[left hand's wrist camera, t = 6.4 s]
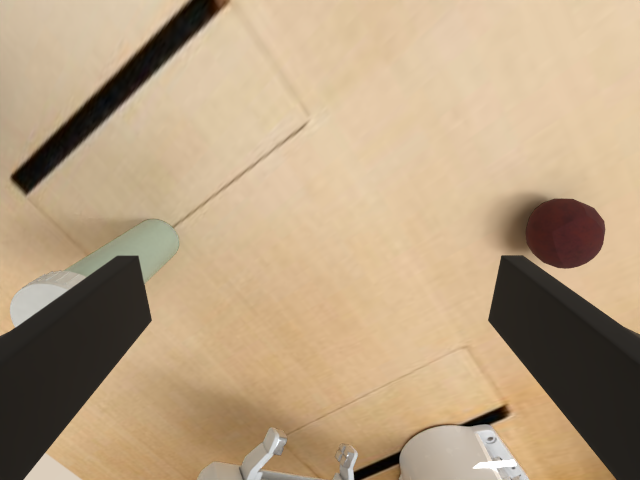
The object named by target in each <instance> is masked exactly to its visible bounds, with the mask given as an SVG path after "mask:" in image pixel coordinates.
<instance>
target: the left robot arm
mask: <svg viewBox="0 0 640 480" xmlns="http://www.w3.org/2000/svg"><path fill="white" fill-rule="evenodd" d="M151 321H152V319H151V314H150V309H149V304H148V300H147V295H146V290H145V285H144V280H143V275H142V270H141V265H140V260H139V256H116V257H114V258H113V259H112V260H110V261H109V262H107V263H106V264H105V265H103V266H102V267H100V268H99V269H98V270H96V271H95V272H93V273H92V274H90V275H89V276H88V277H86V278H85V279H83V280H82V281H81V282H79V283H78V284H76V285H75V286H73V287H72V288H71V289H69V290H68V291H66V292H65V293H64V294H62V295H61V296H59V297H58V298H57V299H55V300H54V301H52V302H51V303H49V304H48V305H47V306H45V307H44V308H42V309H41V310H40V311H38V312H37V313H35V314H34V315H32V316H31V317H30V318H28V319H27V320H25V321H24V322H23V323H21V324H20V325H18V326H17V327H16V328H14V329H13V330H11V331H10V332H8V333H6V334H4V335H1V336H0V480H23V479H24V478H25V477H26V476H27V474H28V473H29V472H30V471H31V470H32V468H33V467H34V466H35V465H36V463H37V462H38V461H39V460H40V458H41V457H42V456H43V455H44V453H45V452H46V451H47V450H48V448H49V447H50V446H51V445H52V444H53V442H54V441H55V440H56V439H57V437H58V436H59V435H60V434H61V432H62V431H63V430H64V429H65V427H66V426H67V425H68V424H69V422H70V421H71V420H72V419H73V417H74V416H75V415H76V414H77V413H78V411H79V410H80V409H81V408H82V406H83V405H84V404H85V403H86V401H87V400H88V399H89V398H90V396H91V395H92V394H93V393H94V391H95V390H96V389H97V388H98V387H99V385H100V384H101V383H102V382H103V380H104V379H105V378H106V377H107V375H108V374H109V373H110V372H111V370H112V369H113V368H114V367H115V365H116V364H117V363H118V362H119V361H120V359H121V358H122V357H123V356H124V354H125V353H126V352H127V351H128V349H129V348H130V347H131V346H132V344H133V343H134V342H135V341H136V339H137V338H138V337H139V336H140V334H141V333H142V332H143V331H144V330H145V328H146V327H147V326H148V325H149V323H150V322H151ZM488 321H489V322H490V323H491V325H492V326H493V327H494V328H495V330H496V331H497V332H498V333H499V335H500V336H501V337H502V338H503V339H504V341H505V342H506V343H507V344H508V346H509V347H510V348H511V349H512V351H513V352H514V353H515V354H516V356H517V357H518V358H519V359H520V361H521V362H522V363H523V364H524V365H525V367H526V368H527V369H528V370H529V372H530V373H531V374H532V375H533V377H534V378H535V379H536V380H537V382H538V383H539V384H540V385H541V387H542V388H543V389H544V390H545V391H546V393H547V394H548V395H549V396H550V398H551V399H552V400H553V401H554V403H555V404H556V405H557V406H558V408H559V409H560V410H561V411H562V413H563V414H564V415H565V416H566V417H567V419H568V420H569V421H570V422H571V424H572V425H573V426H574V427H575V429H576V430H577V431H578V432H579V434H580V435H581V436H582V437H583V439H584V440H585V441H586V442H587V444H588V445H589V446H590V447H591V448H592V450H593V451H594V452H595V453H596V455H597V456H598V457H599V458H600V460H601V461H602V462H603V463H604V465H605V466H606V467H607V468H608V470H609V471H610V472H611V473H612V474H613V476H614V477H615V478H616V479H617V480H640V334H638V333H635V332H633V331H631V330H629V329H627V328H625V327H623V326H622V325H620V324H619V323H617V322H616V321H615V320H613V319H612V318H610V317H609V316H608V315H606V314H605V313H603V312H602V311H600V310H599V309H598V308H596V307H595V306H593V305H592V304H591V303H589V302H588V301H586V300H585V299H583V298H582V297H581V296H579V295H578V294H576V293H575V292H574V291H572V290H571V289H569V288H568V287H567V286H565V285H564V284H562V283H561V282H559V281H558V280H557V279H555V278H554V277H552V276H551V275H550V274H548V273H547V272H545V271H544V270H542V269H541V268H540V267H538V266H537V265H535V264H534V263H533V262H531V261H530V260H528V259H527V258H526V257H524V256H501V260H500V265H499V270H498V275H497V280H496V285H495V290H494V295H493V300H492V304H491V309H490V314H489V319H488Z"/></svg>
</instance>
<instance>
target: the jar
mask: <svg viewBox="0 0 640 480" xmlns="http://www.w3.org/2000/svg"><path fill="white" fill-rule="evenodd" d="M178 248H179V238H178V235H177V233H176V231H175V230H174V229H173V228H172V227H171V226H170V225H169V224H168V223H166V222H164V221H161V220H157V219H149V220H146V221H143V222H142V223H140V224H138V225H137V226H135V227H133V228H132V229H130V230H129V231H127V232H125V233H124V234H122V235H121V236H119V237H117V238H116V239H114V240H112V241H111V242H109V243H108V244H106V245H104V246H103V247H101V248H100V249H98V250H96V251H95V252H93V253H91V254H90V255H88V256H87V257H85V258H83V259H82V260H80V261H78V262H77V263H75V264H74V265H72V266H70V267H69V268H67V269H66V270H64V271H71V272H74V273H78V274H81V275H83V276H85V277H88V276H89V275H90V274H92V273H93V272H95V271H96V270H98V269H99V268H100V267H102V266H103V265H105V264H106V263H107V262H109V261H110V260H112V259H113V258H114V257H116V256H139V260H140V265H141V270H142V275H143V280H144V284H145V283H146V282H147V281H148V280H149V279H150V278H151V277H152V276H153V275H154V274H155V273H156V272H157V271H158V270H159V269H160V268H161V267H162V266H163V265H165V264H166V263H167V262H168V261H169V260H170V259H171V258H172V257H173V256H174V255H175V254H176V252H177V250H178Z"/></svg>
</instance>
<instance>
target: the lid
mask: <svg viewBox="0 0 640 480" xmlns="http://www.w3.org/2000/svg"><path fill="white" fill-rule="evenodd" d="M85 278H86V277H85V276H83V275H81V274H78V273H74V272H71V271H56V272H53V271H52V272H50V273H48V274H46V275H45V274H44V275H42V276H40V277H39V278H37V279H35V280H34V281H32V282H30V283H28V285H26V286H24V287H23V288H22V289H21V290H19V291H18V292H17V293H16V294H15V296H14V297H13V299H12V302H11V305H10V315H11V319H12V322H13V324H14V326H15V328H16V327H17V326H18V325H20V324H21V323H23V322H24V321H25V320H27V319H28V318H30V317H31V316H32V315H34V314H35V313H37V312H38V311H40V310H41V309H42V308H44V307H45V306H47V305H48V304H49V303H51V302H52V301H54V300H55V299H57V298H58V297H59V296H61V295H62V294H64V293H65V292H66V291H68V290H69V289H71V288H72V287H73V286H75V285H76V284H78V283H79V282H81V281H82V280H83V279H85Z"/></svg>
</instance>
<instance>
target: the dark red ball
mask: <svg viewBox="0 0 640 480" xmlns="http://www.w3.org/2000/svg"><path fill="white" fill-rule="evenodd" d="M604 234H605V224H604V220H603V219H602V218H601V216H600V215H599V214H598V213H597V211H596V210H595V209H594V208H593V207H590V206H588V205H586V204H584V203H581V202H579V201H576V200H574V199H553V200H550V201H547V202H544V203H542V204H541V205H540V206H538V207H537V208H536V209H535V210H534V211H533V213H532V214H531V216H530V217H529V221H528V224H527V228H526V241H527V244H528V246H529V248H530V249H531V251H532V252H533V254H534V255H535V256H537V257H538V258H539V259H540V260H541V261H542V262H544V263H546V264H549V265H551V266H554V267H557V268H574V267H578V266H581V265H583V264H585V263H587V262H589V261H590V260H592V259H593V258H594V257H595V256H596V255H597V254H598V253H599V251H600V250H601V247H602V245H603V241H604Z"/></svg>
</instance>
